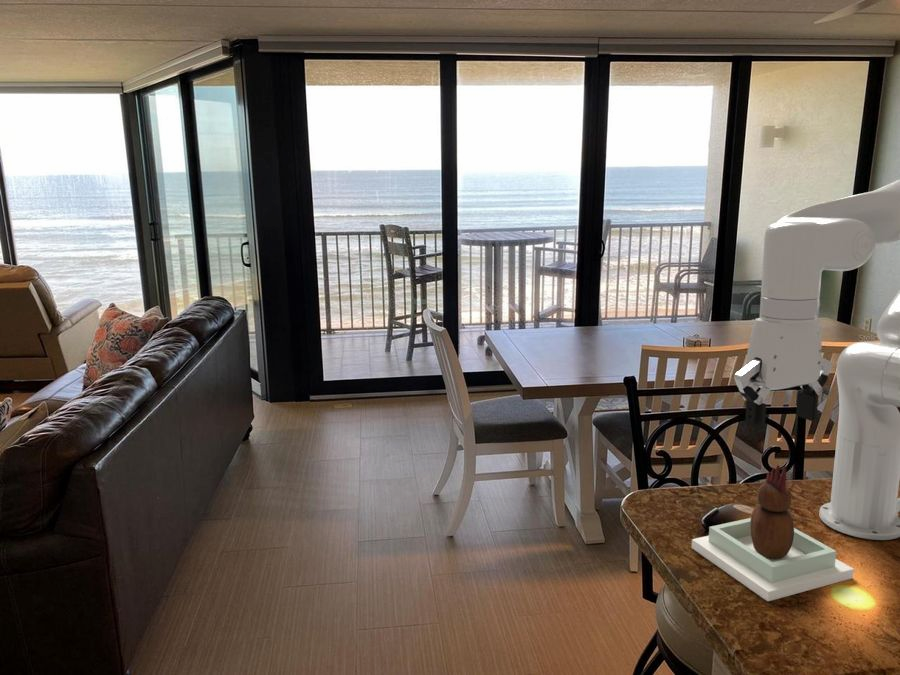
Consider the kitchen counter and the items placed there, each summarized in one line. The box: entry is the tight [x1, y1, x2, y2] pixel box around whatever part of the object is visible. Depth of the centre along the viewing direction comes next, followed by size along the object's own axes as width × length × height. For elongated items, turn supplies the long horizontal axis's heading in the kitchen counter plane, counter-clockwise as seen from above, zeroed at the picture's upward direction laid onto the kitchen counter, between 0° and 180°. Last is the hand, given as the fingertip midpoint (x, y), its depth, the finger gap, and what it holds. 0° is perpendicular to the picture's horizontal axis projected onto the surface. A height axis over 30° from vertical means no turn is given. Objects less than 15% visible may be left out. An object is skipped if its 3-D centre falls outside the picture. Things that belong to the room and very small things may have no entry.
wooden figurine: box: [750, 464, 795, 559], centre depth 103 cm, size 7×6×15 cm
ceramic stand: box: [691, 517, 855, 602], centre depth 104 cm, size 16×16×4 cm
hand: (780, 422), depth 100 cm, fingers open, 9 cm apart
